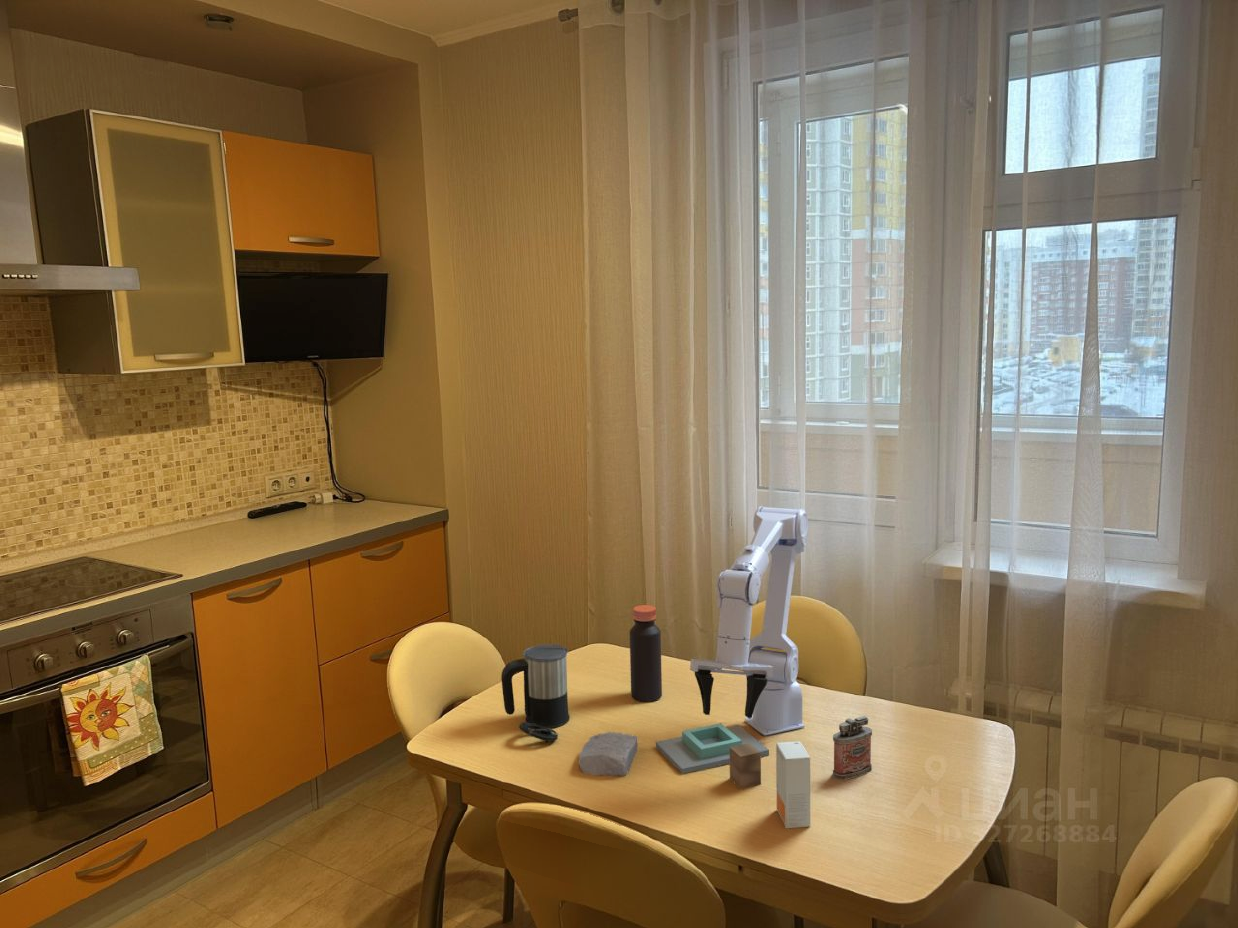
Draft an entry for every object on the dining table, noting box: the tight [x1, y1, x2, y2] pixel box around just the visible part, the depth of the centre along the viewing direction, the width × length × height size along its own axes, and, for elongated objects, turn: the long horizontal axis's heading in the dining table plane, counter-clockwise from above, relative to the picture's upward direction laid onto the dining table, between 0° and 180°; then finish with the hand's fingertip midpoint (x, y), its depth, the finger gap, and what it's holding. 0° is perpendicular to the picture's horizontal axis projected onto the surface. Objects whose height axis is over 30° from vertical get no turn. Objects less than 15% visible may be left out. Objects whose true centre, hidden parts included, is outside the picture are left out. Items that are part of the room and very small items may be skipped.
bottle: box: [629, 604, 663, 703], centre depth 199 cm, size 7×7×20 cm
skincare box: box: [775, 740, 811, 829], centre depth 148 cm, size 6×4×12 cm
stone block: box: [578, 731, 639, 777], centre depth 171 cm, size 12×5×10 cm
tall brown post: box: [729, 743, 762, 790], centre depth 161 cm, size 4×4×6 cm
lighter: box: [832, 715, 873, 781], centre depth 163 cm, size 8×3×10 cm, turn 117°
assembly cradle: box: [655, 722, 770, 775], centre depth 173 cm, size 18×12×3 cm, turn 112°
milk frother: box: [500, 644, 571, 743], centre depth 184 cm, size 14×16×15 cm
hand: (727, 715), depth 161 cm, fingers open, 7 cm apart
